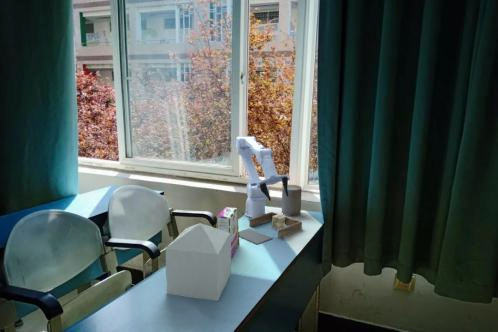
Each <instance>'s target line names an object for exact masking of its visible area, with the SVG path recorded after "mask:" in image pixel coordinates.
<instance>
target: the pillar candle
mask: <svg viewBox="0 0 498 332" xmlns="http://www.w3.org/2000/svg"><path fill="white" fill-rule="evenodd" d="M281 188H282V189H281V214H282V213H283V214H282V215H284V214H285V215H284V216H286V215H290V216H289V217H298V216H300V215H301V214H302V213H301V210H302V186H300V185H297V184H296V185H295V184H288V186H287V190H288V196H286V193H285V190H284V187H283V185H282V186H281ZM292 215H293V216H292ZM295 215H296V216H295ZM297 215H298V216H297Z"/></svg>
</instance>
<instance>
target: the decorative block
mask: <svg viewBox="0 0 498 332" xmlns="http://www.w3.org/2000/svg"><path fill="white" fill-rule="evenodd" d="M231 263H232V258H231V234H230V233H228V232H226V231H223V230H219V229H217V227H214V226H211V225H210V226H209V225H208V224H207V225H206V224H203V223H201V222H200V223H197V224H193V225H191V226H189V227H186V228H185V229H184V230H183V231H182V232H181V233H179V234H178V235H177V237H176V238H174V240H173V241H171V242H170V243H169V244H168V245H167V247H165V277H166V294H167V295H173V296H180V297H187V298H192V299H193V298H194V299H201V300H209V301H217V302H218V301H219V299H220V298H221V295H222V293H223V291H224V289H225V287H226V286H227V283H228V281H229V278H230V277H231V273H232V272H231V271H232V268H231V267H232V264H231Z"/></svg>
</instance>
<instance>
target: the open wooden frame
mask: <svg viewBox="0 0 498 332" xmlns="http://www.w3.org/2000/svg"><path fill="white" fill-rule="evenodd" d="M278 214H279V213H276V212H274V211H271V212H267V213H265V214H264V215H261V216H258V217H255V218H249V226H250V228H253V227H255V226H258V225H261V224H264V223H267V222H269V220H270V221H272V216H275V215H278ZM279 215H282V216H285V227H283V228H281V229H277V230H278V231H277V238H278V239H282V238H285V237H287V236H289V235H291V234H293V233H296V232H299V231H302V230H303V229H302V228H303V222H302V221H301V220H297V219H294V218H291V217H290V216H286V215H284V214H279ZM266 221H267V222H266Z"/></svg>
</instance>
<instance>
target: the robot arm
mask: <svg viewBox="0 0 498 332" xmlns="http://www.w3.org/2000/svg"><path fill="white" fill-rule="evenodd" d="M256 139H257V138H256V137H255V136H236V138H235V148H236V151H237V155H239V156H241V159H242V162H243V165H244V168H245V172H246V174H247V178H248V181H249V182H247V184H246V195H247V198H246V201H245V213H244V214H243V215H244V216H247V217H248V218H250V219H252V218H255V217H258V216H261V215H264V214H266V200H268V201H269V202H270V201H271V200H272V199H271V195H270V188H269V186H273V185H275V184H278V183H281V184H282V186H283V187H284V190H285V193H286V196H288V190H287V186H288V185H289V181H290V180H291V177H290V174H289V173H288V174H287V173H286V174H278V172H277V168H276V166H275V163H274V159H273V157H274V154H273V150H272V149H271V148H269V147H268V148H266V147H265V146H264V145H262V144H261V142H257V140H256ZM253 155H255V157H256V161H257V163H258V164H259V166H261V170H262V172H263V176H264V179H262V178H261V179H260V176H259V172H258V171H257V168H256V165H255V162H254V158H253V157H252V156H253Z"/></svg>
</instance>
